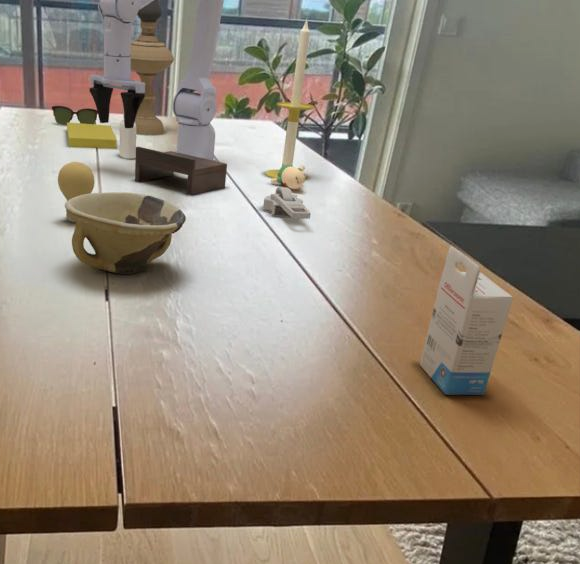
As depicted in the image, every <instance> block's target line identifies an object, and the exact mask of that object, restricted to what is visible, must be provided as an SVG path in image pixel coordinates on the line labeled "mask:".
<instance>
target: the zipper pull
mask: <svg viewBox="0 0 580 564" xmlns="http://www.w3.org/2000/svg"><path fill="white" fill-rule="evenodd" d="M262 211H264V212H267V213H271V217H277V218H292V219H310V218H311V214H312V213H311V211H310V210H309V209H308V208H307V207H306V206H305V205H304V200H303V199H302V198H299V197H298V194H293V192H292V189H290V188H289V187H286V186H284V187H283V186H281V187H280V186H278V187H276V189H275V192H274V193H270V195H267V196H265V197H264V198H263V206H262Z"/></svg>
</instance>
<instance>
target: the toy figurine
mask: <svg viewBox="0 0 580 564" xmlns="http://www.w3.org/2000/svg"><path fill="white" fill-rule="evenodd" d="M305 169H306V167H305V165H303V164H302V165H300V166H299V167H295V166H293V165H292V166H291V165H284V166H282V165H281V167H280V168H279V169H278V170H279V172H278V178H271V179H270V183H271V184H272V185H275V184H279V183H282V185H283V186H284V187H285V188H289V189H290V190H291V191H295V190H298V189H300V188H301V187H303V185H304V183H305V179H304V174H305V173H304V172H303V171H305Z"/></svg>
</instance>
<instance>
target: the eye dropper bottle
mask: <svg viewBox="0 0 580 564" xmlns="http://www.w3.org/2000/svg"><path fill="white" fill-rule="evenodd" d="M122 114H123V116H122V117H123V118H122V120H121V121H120V123H119V146H118V147H119V149H118V151H119V152H118V153H119V156H120V157H121V158H122V159H126V160H134V159H136V147H137V134H136V124H135V122H134V126H133V128H125V125H124V111H123V113H122Z"/></svg>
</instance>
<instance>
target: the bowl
mask: <svg viewBox="0 0 580 564" xmlns="http://www.w3.org/2000/svg"><path fill="white" fill-rule="evenodd" d="M64 208H65V211H66V210H67V213H66V214H67V215H68V217H70V218H71V219H74V220H75V221H76V222H75V225H74V226H75V227H74V231H73V234H72V238H71V247H72V252H73V254H74V255H75V257H76V258H77V259H78V261H80V262H81V263H82V264H84V265H86V266H88V267H89V268H93V269H97V270H103V271H106V272H109V273H114V274H118V275H135V274H137V273H140V272H142V271H143V270H145V269H146V268H147V266H148V263H150V262H152V261H155V260H156V259H158V258H159V257H161V256H162V255H164V254H165V253H166V252H167V250H168V249H169V247H170V245H171V243H172V238H173V237H172V236H173V235H174V234H175V233H177V232H178V231H180V230H181V228H182V227H183V225H184V224H185V222H186V219H187V217H186V215H185V214H184V212H183V210H182V209H180V208H179V206H177V205H176V204H174V203H172V202H170V201H167V200H165V199H161V198H158V197H155V196H153V195H148V194H144V193H135V192H125V191H123V192H121V191H120V192H115V191H114V192H113V191H111V192H109V191H108V192H91V193H90V194H84V195H80V196H77V197H74V198H72V199H70V200H68V201H67V200H66V202H65V203H64ZM85 239H86V240H87V241H88V243H89V244H90V246H91V248H92V250H93V251H94V253H90V252H88V251H87V250H86V249H85V246H84V242H85Z"/></svg>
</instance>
